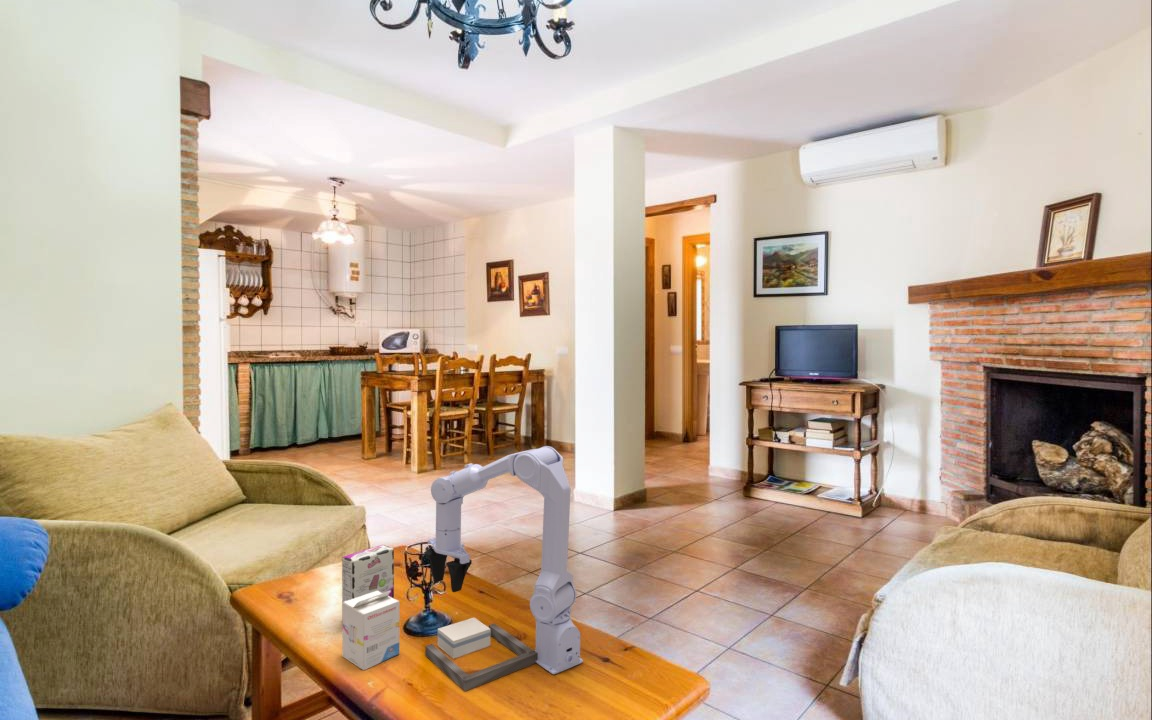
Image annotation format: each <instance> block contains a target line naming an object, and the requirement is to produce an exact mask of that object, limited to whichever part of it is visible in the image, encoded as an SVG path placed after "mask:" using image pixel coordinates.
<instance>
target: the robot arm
mask: <svg viewBox="0 0 1152 720" xmlns="http://www.w3.org/2000/svg"><path fill="white" fill-rule="evenodd" d="M505 474H510V475H511V476H512V477H515V476H516V477H517V479H519V480H520V481H521V482H522V483H524V484H526V486H527V485H528V486H529V487H530V488H533V490H536V491H538V492H539V493H540V495H542V496H543V514H542V515H543V516H542V517H543V519H542V520H543V521H542V522H543V523H542V539H541V540H542V543H541V547H542V548H541V562H540V563H541V566H540V567H541V568H540V569H541V570H540V573H539V575H538V577H537V579H536V581H535V583H534V588H533V589H534V591H533V594H532V595H531V597H530V600H529V608H530V612H531V614H532V616H533V617H534V618H535V619H534V620H535V650H534V651H535V652H537V653H538V656H537V660H536V663H535V664H537V665H538V666H540V667H542V668H543V669H545V670H546V671H547V672H549V673H550V674H552V675H556V674H559V673H562V672H564V671H566V670H568V669H570V668H571V669H572V668H573V667H575V666H577V665H581V664H583V662H584V660H583V659H582V658H581V632H580V630H579V628H578V627H577V626H576V625H575V624H574V623H573V621H572V618H571V612H572V608H571V607H572V606H573V605H574V604H575V602H576V600H577V590H576V587H575V584H574V575H573V574H572V572H570V571H569V570H568V562H569V561H568V559H569V558H568V557H569V555H568V554H569V533H570V515H571V514H570V513H571V512H570V510H571V485H570V482H569V479H568V476H567V474H566V470H565V469H564V457H563V456H562V455H561V454H560V453H559V452H558V451H557V450H556V449H555V448H554V447H553V446H549V445H544V446H543V445H542V447H539V448H532V449H528V450H524V451H518V452H515V453H511V454H508V455H506V456H503V457H501V458H500V459H497V460H495V461H492V462H490V463H489V464H486V465H484V466H482V465H481V464H478V463H475V464H474V463H472V462H471V463H467V464H465V465H464V468H462V469H460V470H457V471H456V470H452V471H450V472H449V475H446V476H442V477H441V476H440V477H438V478H436V479H435V480H434V481H433V482H432V483H431V487H430V495H431V497H432V499H433V500H434V501H435V537H434V538H430V539H427V549H430V548H429V545H428V544H432V545H433V546H431V549H430V550H431V551H432V552H431V551H430V550H427V551H425V552H424V556H425V557H426V556H427V557H428V559H429V560H430V564H429V566H430V567H429V568H430V571H431V574H432V580H433V581H434V583H439V582H443V580H444V577H445V576H444V575H445V569H446V567H447V569H448V572H449V577H450V587H451V592H452V593H456V592H461V591H462V588H463V584H464V580H465V577H466V574H467V572H468V570H469V568H470V567H471V565H472V564H473V563H472V561H473V560H472V559H471V558H470V555H471V554H470V553H468V552H467V551H466V550H465V548H464V547H465V543H464V542H462V541H461V540H462V536H461V535H462V504H463V503H464V502H463V501H464V497H465V496H467V495H470V494H473V493H475V492H478V491H480V490H483V489H484V488H486V486H487V484H488V482H489V481H490V480H492V479H495V478H497V477H500V476H503V475H505ZM432 548H433V549H432ZM447 557H450V558H452V559H453V560H451V561H450V560H449V561H447V559H448V558H447Z"/></svg>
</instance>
